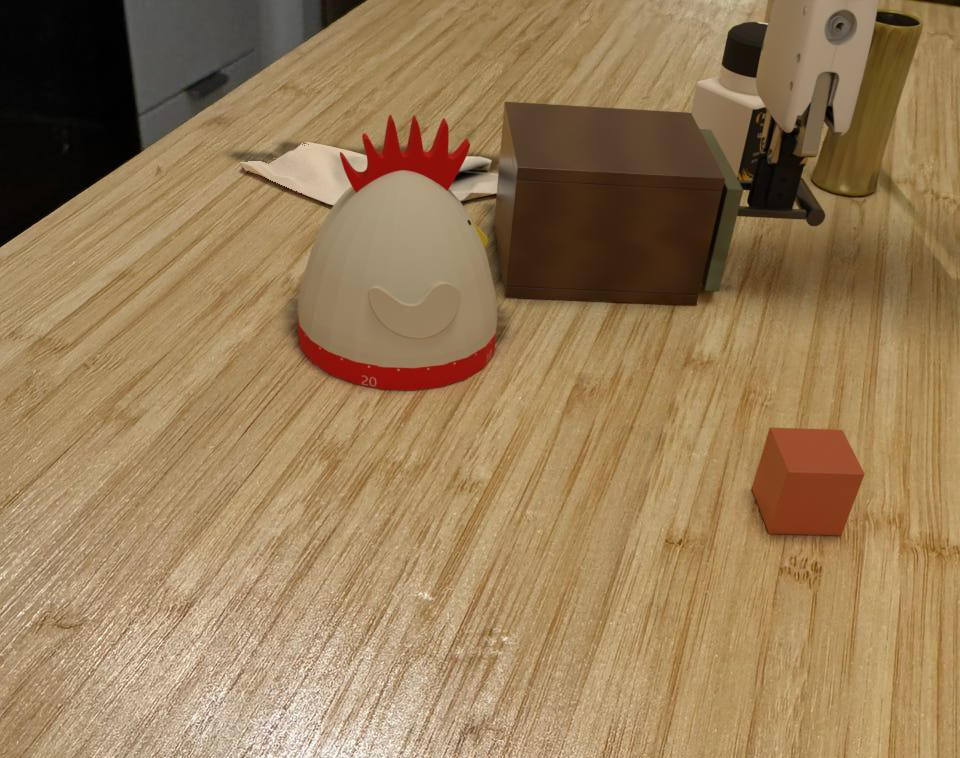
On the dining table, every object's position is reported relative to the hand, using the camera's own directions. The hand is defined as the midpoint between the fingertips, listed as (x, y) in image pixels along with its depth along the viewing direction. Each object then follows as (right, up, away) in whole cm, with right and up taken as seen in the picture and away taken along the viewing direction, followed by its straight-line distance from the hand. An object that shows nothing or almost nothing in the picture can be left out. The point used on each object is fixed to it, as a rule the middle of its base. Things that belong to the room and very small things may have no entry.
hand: (768, 209), depth 89 cm
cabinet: (-14, -3, +2) cm, 14 cm away
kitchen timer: (-28, -12, -8) cm, 32 cm away
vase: (+12, +9, +18) cm, 24 cm away
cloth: (-31, +6, +10) cm, 33 cm away
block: (-3, -26, -20) cm, 33 cm away
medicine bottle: (+2, +11, +20) cm, 23 cm away
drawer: (-7, -3, +2) cm, 8 cm away
